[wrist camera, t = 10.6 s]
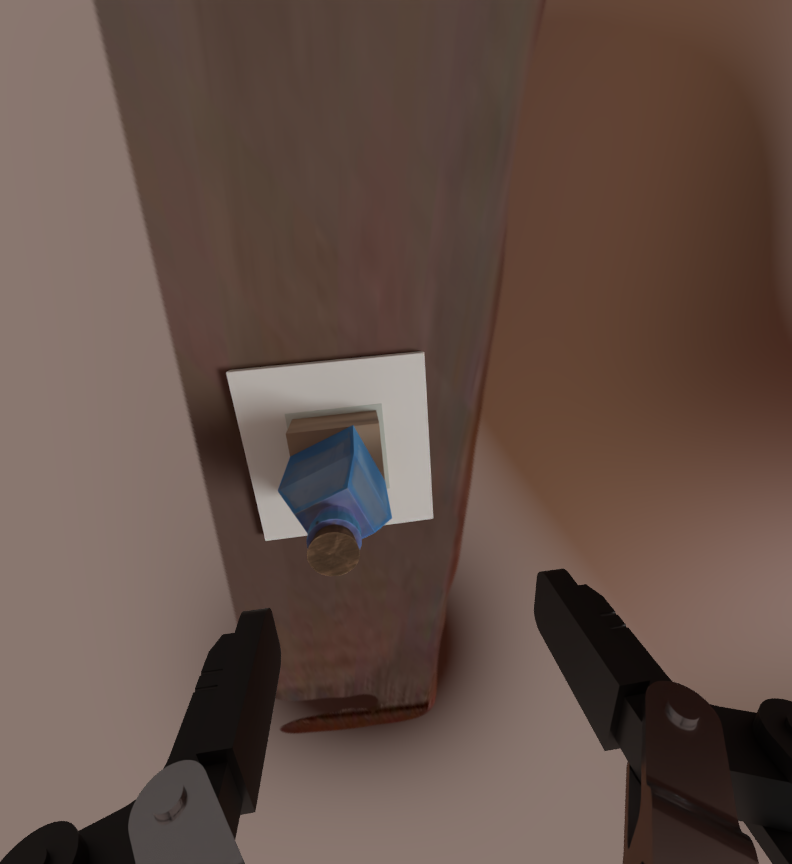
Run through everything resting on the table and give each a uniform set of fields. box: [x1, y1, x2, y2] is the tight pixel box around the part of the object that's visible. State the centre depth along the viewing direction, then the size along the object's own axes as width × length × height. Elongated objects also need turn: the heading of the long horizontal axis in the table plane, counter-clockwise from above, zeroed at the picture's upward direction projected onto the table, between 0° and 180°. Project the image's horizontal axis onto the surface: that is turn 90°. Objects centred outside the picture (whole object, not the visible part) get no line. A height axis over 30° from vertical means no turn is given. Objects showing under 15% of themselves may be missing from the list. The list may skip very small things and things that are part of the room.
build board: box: [226, 351, 433, 541], centre depth 39 cm, size 18×18×1 cm
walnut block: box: [286, 410, 385, 480], centre depth 36 cm, size 8×8×4 cm
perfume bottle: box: [278, 425, 392, 576], centre depth 29 cm, size 6×6×12 cm
